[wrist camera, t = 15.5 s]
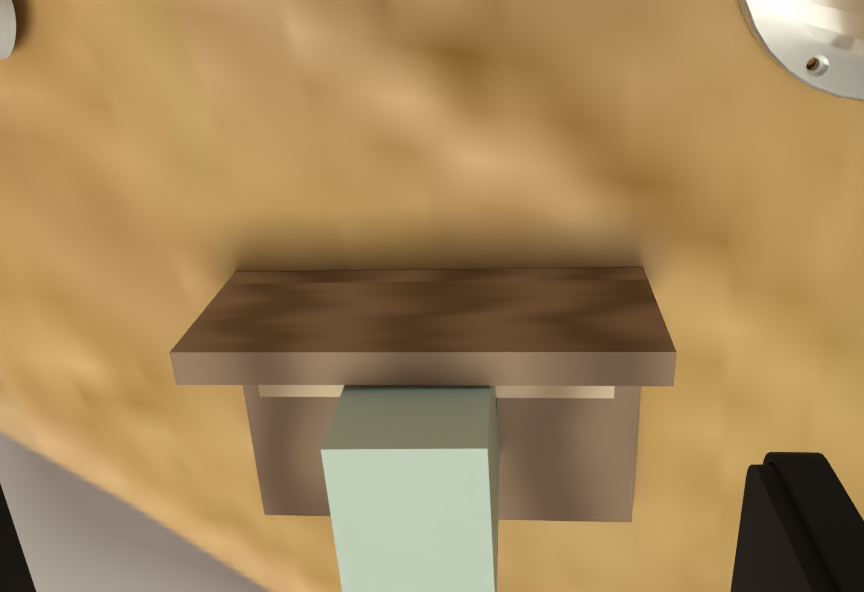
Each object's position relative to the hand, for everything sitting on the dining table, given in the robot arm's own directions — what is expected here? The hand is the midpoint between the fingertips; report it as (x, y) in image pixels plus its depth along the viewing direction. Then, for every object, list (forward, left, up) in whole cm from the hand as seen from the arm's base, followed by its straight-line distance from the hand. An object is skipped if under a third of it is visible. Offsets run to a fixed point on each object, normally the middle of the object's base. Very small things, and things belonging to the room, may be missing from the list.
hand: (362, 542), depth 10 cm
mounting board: (+2, +15, -28) cm, 32 cm away
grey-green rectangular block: (+2, +14, -27) cm, 30 cm away
